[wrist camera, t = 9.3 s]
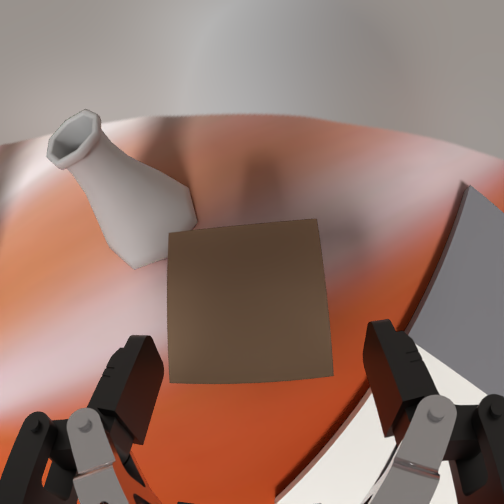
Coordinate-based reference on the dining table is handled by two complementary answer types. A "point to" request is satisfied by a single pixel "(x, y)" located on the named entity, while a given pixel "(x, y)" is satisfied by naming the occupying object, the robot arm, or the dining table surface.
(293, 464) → the dining table surface
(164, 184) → the flask
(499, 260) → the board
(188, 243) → the block
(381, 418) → the robot arm
